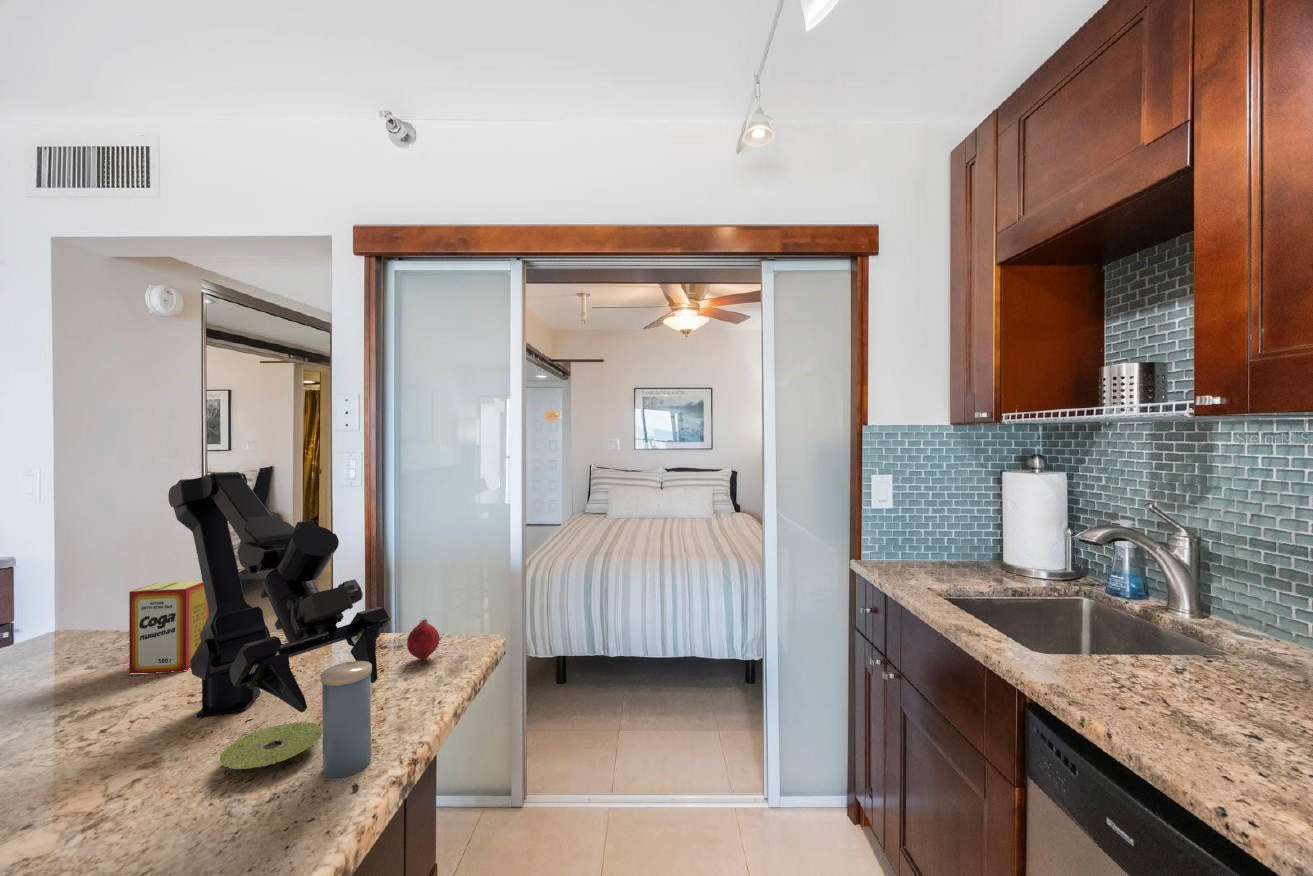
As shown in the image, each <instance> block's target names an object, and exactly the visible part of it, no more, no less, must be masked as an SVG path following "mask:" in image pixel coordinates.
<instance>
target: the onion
mask: <svg viewBox="0 0 1313 876" xmlns="http://www.w3.org/2000/svg"><path fill="white" fill-rule="evenodd" d="M440 640H441V639H440V634H439V632H438V630H437V628H436V627H434V626H433V625H432V624H430V623H429V622H428V619H427V618H422V619H421V620H420V621H419V623H418V624H417V625H416V626H415V627H414V628H413V629H412V631H410V632H409V634H408V636H407V641H406V645H407V646H406V647H407V651H408V652H409V654H410V655H411V656H413V657H415V658H416V659H419V660H421V661H425V659H426V660H427V659H428V658H429V657H430V656H431V655H433V653H434V652H435V651H436V650H437V648H438V646H439V644H440Z"/></svg>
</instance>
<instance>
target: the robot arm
mask: <svg viewBox="0 0 1313 876" xmlns="http://www.w3.org/2000/svg"><path fill="white" fill-rule="evenodd" d="M167 495H168V503H169V506H170V507H172V508H173V511H174V514H175V517H176V520H177V521H178V522H180V524H182V525H183V526H184V527H186V528H187V529H188V530H189V531H191V533H192V535H193V541H194V545H195V550H196V555H197V556H196V557H197V559H198V564H199V569H200V574H201V581H203V585H204V590H205V594H206V599H207V604H208V609H209V616H208V618H207V620H206V622H205V625H204V627H203V629H202V631H201V633H200V638H201V642H200V644H199V646H198V648H197V650H196V651H195V653H194V655H193V657H192V659H191V661H190V664H191V669H190V670H191V675H192V676H195V677H196V678H199V679H201V709H200V710H199V711H198V712H197V713H196V715H195V716H196V717H197V718H200V717H209V716H214V715H215V716H216V715H224V714H230V713H231V714H232V713H236V712H237V713H238V712H244V711H245V710H247V709H248V707H250V705H251V704H253V703H254V702H255V700H256V699H257V698H259V696H260V695H261V694H262V693H261V690H262V691H264V692H266V693H268V694H271V695H273V696H274V697H276V698H278V699H279V700H281V701H282V702H284V703H286V704H288V705H289V706H291V708H293V709H295V710H297V711H298V712H299V713H302V714H303V713H304V712H306V710H307V709H308V704H307V701H306V699H305V695H304V694H303V692H302V689H301V687H300V686H299V684H298V681H297V679H296V677H295V676H294V673H293V672H292V670H291V666H290V658H293V657H296V656H298V655H301V654H305V653H308V652H311V651H314V650H317V649H320V648H324V647H327V646H330V645H332V644H337V643H339V642H342V641H345V640H346V643H347V644H348V646H351V647H352V648H351V650H350V652H349V653H350V654H351V656H352V657H353V658H354V661H366V662H370V663H371V664H372V673H371V685H372V684H373V685H374V684H375V683H376V682H377V680H378V665H377V649H376V647H377V639H378V638H379V637H380V635H381V633H382V632H383V630H385V628H386V627H387V625H388V624H389V622H390V621H391V620H392V619H391V616H390V613H388V610H387V609H386V608H385V607H382V606H376V607H373V608H369V609H366V610H361V611H359V612H357V613H356V614H355V616H354V617H353V619H352V620H351V622H350V623H349V624H345V625H341V626H340V627H338V625H337V624H338V623H340V622H342V620H343V619H344V618H345V617H344V614H343V612H345V611H347V610H351V609H353V608H354V606H353V605H355V604H356V603H358V602H359V601H361V600H362V599H363V592H362V587H361V586H360V584H359V583H358V581H357V580H356V579H350V580H346V581H343V582H342V583H341V584H338V585H337V587H333V588H330V589H326V590H322V591H320V590H319V588H318V586H317V583H316V581H315V580H316V579H317V578H319V577H320V576H321V575H322V574H323V572H324V571H325V570H326V568H327V566H328V565H329V563H330V561H331V559H332V558H333V556H334V555H335V553H336V551H337V549H338V547H339V543H340V542H339V541H340V540H339V538H338V536H337V534H336V533H334V532H332V531H331V530H330V529H329V528H326V527H323V526H319V525H316V524H315V522H314V520H304V521H303V520H301V521H297V522H296V524H295V526H293V525H292V524H291V523H289V522H287V521H284V520H281V519H277V518H275V517H274V516H273V515H272V514H271V513H270V511H269V510H268V509H267V507H265V505H264V504H263V502H262V501H261V500H260V499H259V497H258V496H257V494H256V493H255V492H254V491H253V489H252V488H251V487H250V486H249V484H248V478H247V475H246V474H245V473H243V472H242V473H241V472H239V471H227V472H211V473H209V474H205V475H203V476H200V477H196V478H185V479H182V478H181V479H179V480H178V482H177V483H175V484H174V485H172V486H171V487H170V488H169V490H168V494H167ZM229 525H230V526H231V528H232V529H233V530H234V532H235V533H236V534H237V536H238V538H239V544H238V549H237V552H236V553H237V556H238V561H239V564H240V565H241V567H243V568H244V570H245V571H246V572H247V573H249V574H258V573H262V572H268V571H269V572H268V574H267V575H266V577H265V578H264V580H263V581H262V588H261V590H260V598H261V599H266V598H268V600H269V602H270V605H271V607H272V609H273V611H274V615H275V616H276V621H275V623H274V626H275V628H276V631H278V630H282V632H283V634H284V636H285V638H286V641H287V642H285V643H282V641H281V639H280V637H278V636H275V635H273V636H271V633H270V630H269V627H268V626H267V625H266V623H265V622H266V621H265V618H264V613H263V609H261V607H260V606H258V605H257V606H254V607H253V606H252V605H251V604H249V603H248V602H247V601H246V598H245V594H244V590H243V584H242V580H241V575H240V572H239V571H240V570H239V567H238V563H237V562H238V561H237V557H236V554H235V549H234V544H233V540H232V536H231V532H230V526H229Z"/></svg>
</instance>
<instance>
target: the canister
mask: <svg viewBox="0 0 1313 876" xmlns="http://www.w3.org/2000/svg"><path fill="white" fill-rule="evenodd" d="M371 673H372V664H371V663H370V662H366V661H356V660H353V661H347V662H342V663H339V664H335V665H333V666H330V667H328V668H326V669H325V670H323V671H322V672H321V674H320V684H321V686H322V687H321V688H322V695H321V696H322V697H321V698H322V705H321V706H322V774H323V777H326V778H329V779H342V778H347V777H349V776H352V775H355V774H357V773H359V772H362V771H363V770H365V768H367V767H368V766H369V765H370V763H371V762H372V704H371V703H372V701H371V700H372V699H371V698H372V695H371V694H372V693H371V691H372V690H371V689H372V687H371V686H372V683H371ZM367 765H368V766H367ZM362 769H363V770H362Z"/></svg>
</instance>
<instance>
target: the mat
mask: <svg viewBox="0 0 1313 876" xmlns="http://www.w3.org/2000/svg"><path fill="white" fill-rule="evenodd" d="M322 735H323V728H322V727H321V726H320V725H319V724H316V723H314V722H307V721H303V722H302V721H301V722H289V723H283V724H278V725H275V726H270V727H267V728H264V729H259V730H256V731H255V732H252V733H250V734H247V735H245V736H243V737H241V738H240V739H238V740H236V741H234V742H233V743H232V744H230V745H229V746H228V747H226V748H225V750H224V751H222V753H221V754H220V757H219V762H220V763H221V765H222V766H224V767H225V768H229V769H233V770H243V769H244V770H246V769H253V768H262V767H267V766H269V765H275V764H277V763H281V762H282V761H286V760H288V759H291V758H293V757H295V756H297V755H299V754H301V753H303V752H304V751H305V750H307V749H309V748H311V747H312V746H313V745H314V744H316V743H317V742H318V741H319V739H320V738H321V736H322Z"/></svg>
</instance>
